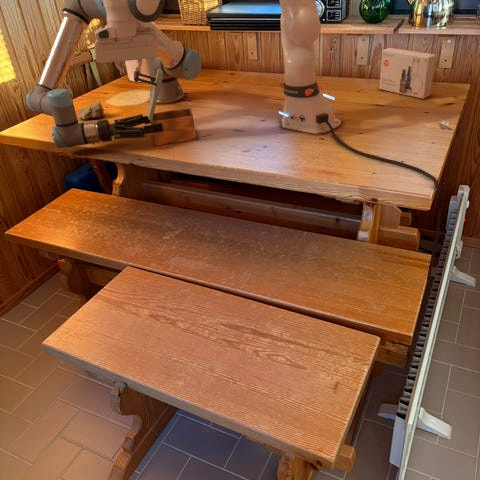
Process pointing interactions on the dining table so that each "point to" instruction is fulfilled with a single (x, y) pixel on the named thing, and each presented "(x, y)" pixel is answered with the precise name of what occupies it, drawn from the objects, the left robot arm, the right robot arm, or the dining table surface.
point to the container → (133, 64)
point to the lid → (154, 93)
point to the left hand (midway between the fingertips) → (162, 122)
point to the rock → (92, 112)
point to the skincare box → (407, 72)
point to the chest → (174, 126)
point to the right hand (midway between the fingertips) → (130, 74)
